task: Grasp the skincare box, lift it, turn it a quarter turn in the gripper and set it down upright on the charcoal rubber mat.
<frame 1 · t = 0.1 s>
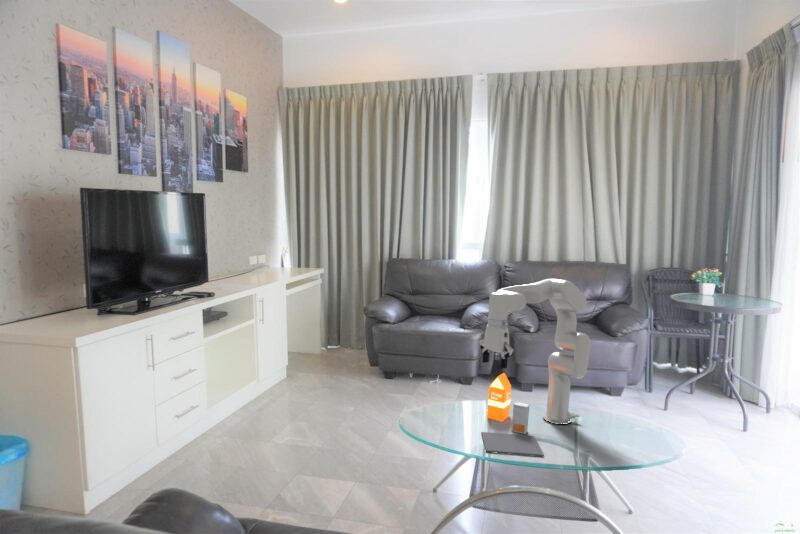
hand: (494, 365, 202), 31 cm above the table, tool pointing down, fingers open, 9 cm apart
skincare box: (519, 431, 215), on the table
mat: (511, 444, 201), on the table
orange juice: (498, 417, 232), on the table
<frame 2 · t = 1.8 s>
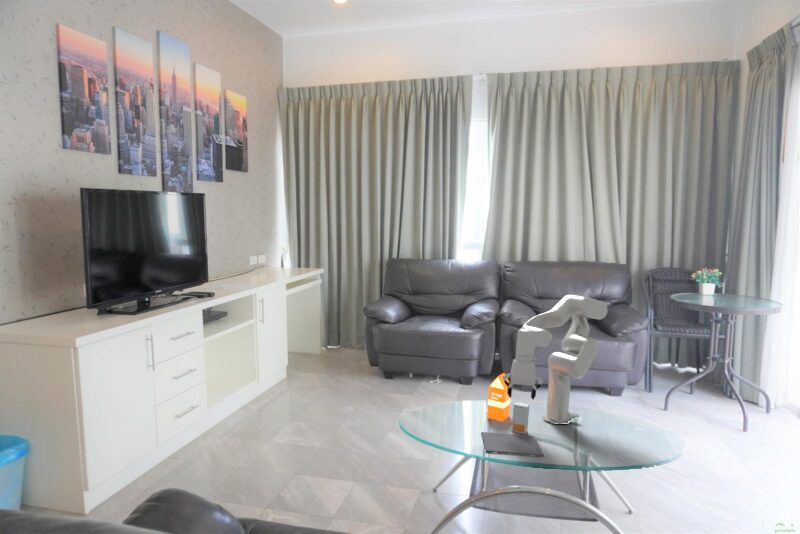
hand: (521, 397, 214), 15 cm above the table, tool pointing down, fingers open, 9 cm apart
nothing on the table moved.
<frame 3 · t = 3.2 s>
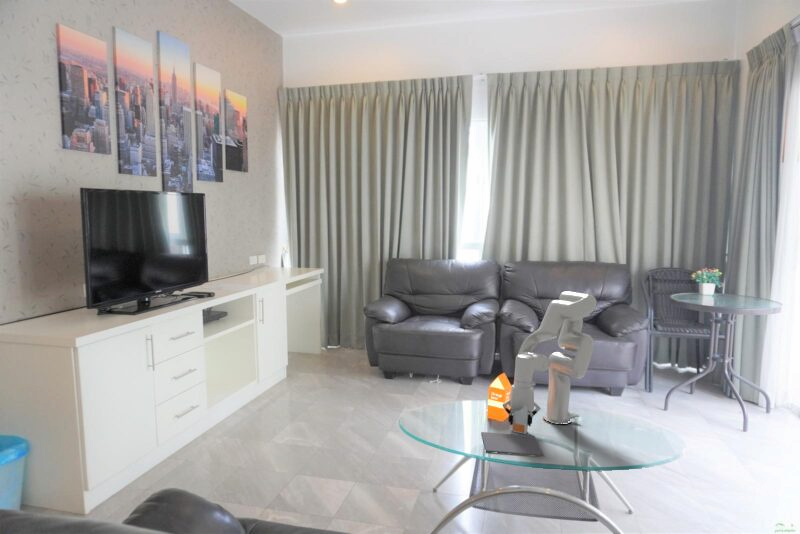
hand: (520, 424, 215), 3 cm above the table, tool pointing down, fingers closed on skincare box, 7 cm apart
skincare box: (519, 431, 215), on the table, touching gripper
everything else where it was.
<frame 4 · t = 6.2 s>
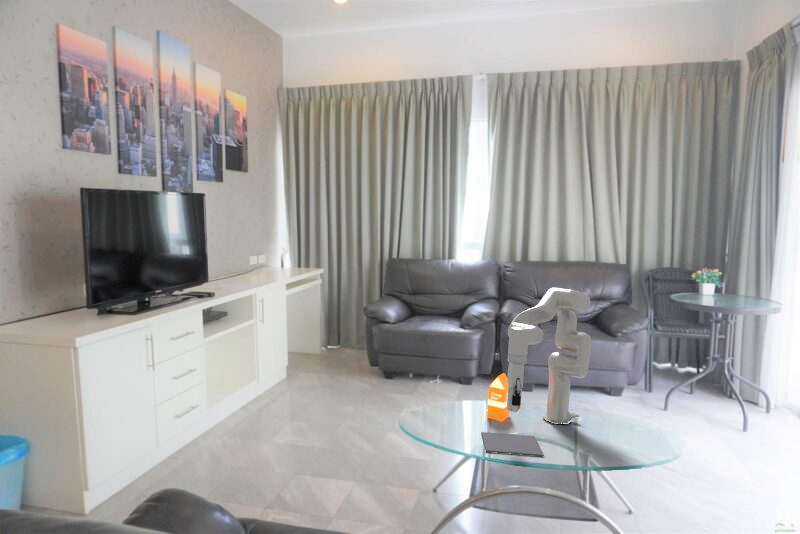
hand: (514, 401, 200), 18 cm above the table, tool pointing down, fingers closed on skincare box, 7 cm apart
skincare box: (513, 410, 200), point 14 cm above the table, touching gripper
everything else where it was.
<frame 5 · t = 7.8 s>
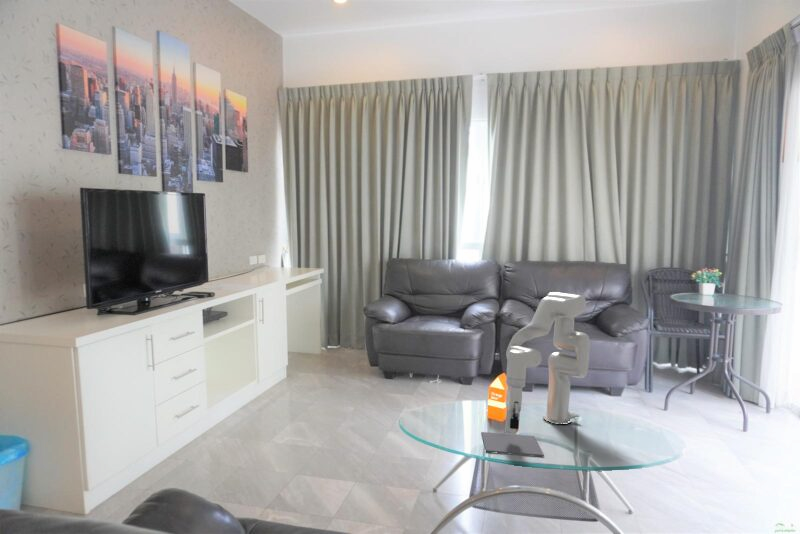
hand: (512, 424, 200), 8 cm above the table, tool pointing down, fingers closed on skincare box, 7 cm apart
skincare box: (511, 432, 201), point 5 cm above the table, touching gripper
everything else where it was.
when the fingers open (5 cm above the table, at t = 9.0 s): skincare box drops 1 cm, resting on mat.
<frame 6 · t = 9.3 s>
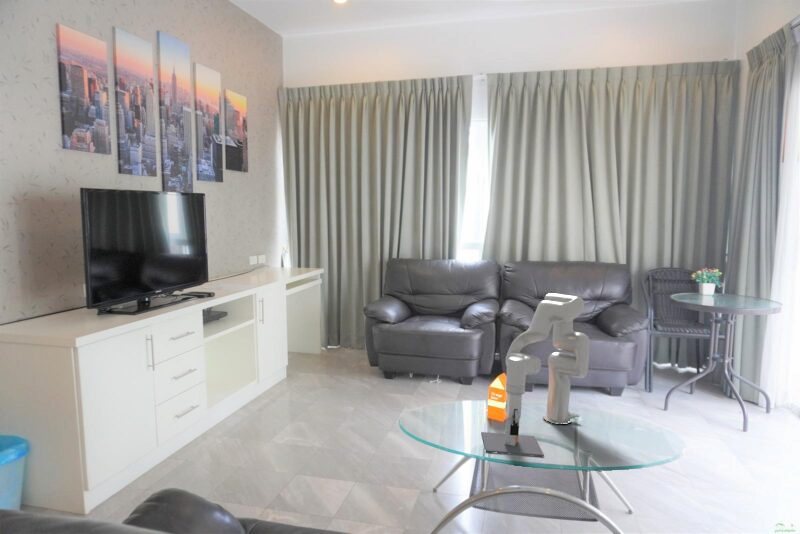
hand: (512, 430, 200), 6 cm above the table, tool pointing down, fingers open, 9 cm apart
skincare box: (511, 442, 201), point 1 cm above the table, touching mat
everything else where it was.
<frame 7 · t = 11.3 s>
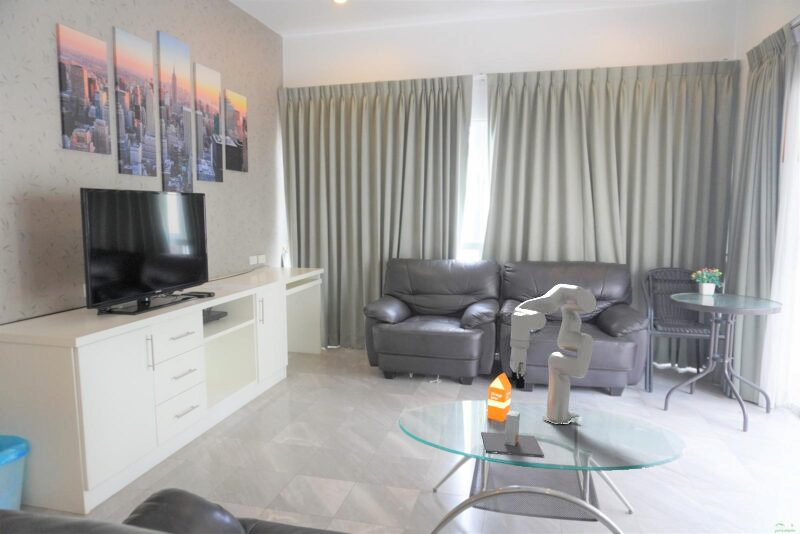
hand: (517, 384, 205), 23 cm above the table, tool pointing down, fingers open, 9 cm apart
nothing on the table moved.
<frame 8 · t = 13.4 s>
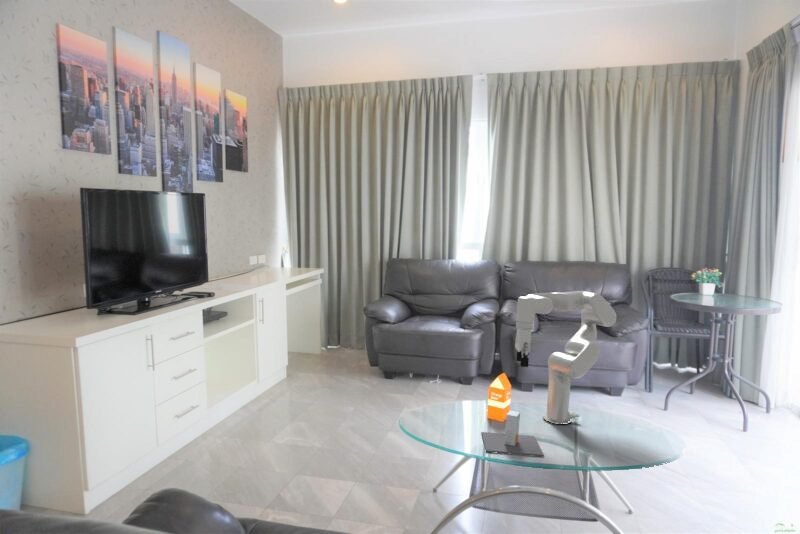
hand: (522, 363, 219), 28 cm above the table, tool pointing down, fingers open, 9 cm apart
nothing on the table moved.
at the end: skincare box inside the target area on the mat (0.4 cm from its centre), point 0.6 cm above the mat's base; skincare box tilted 0°; the gripper is holding nothing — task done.
